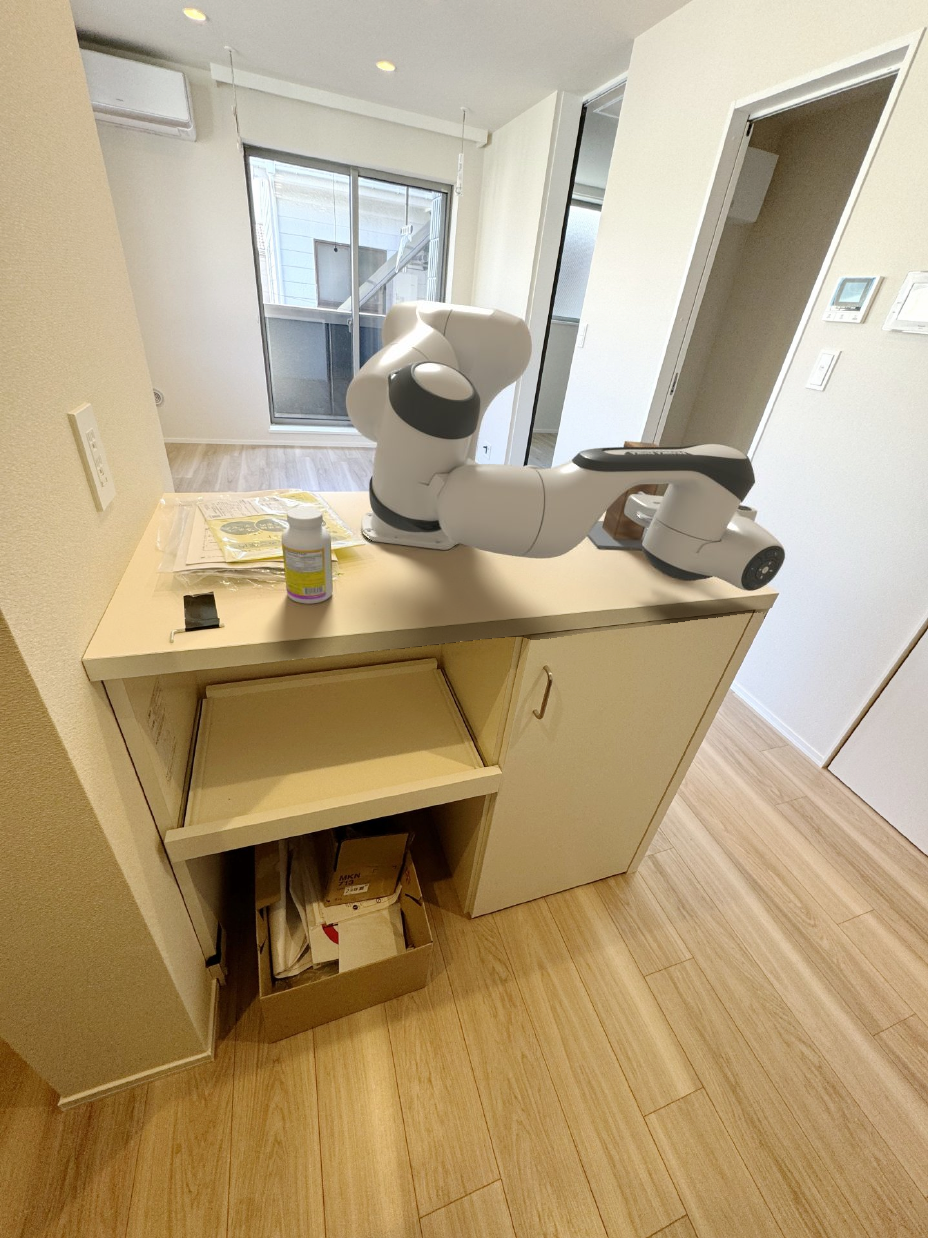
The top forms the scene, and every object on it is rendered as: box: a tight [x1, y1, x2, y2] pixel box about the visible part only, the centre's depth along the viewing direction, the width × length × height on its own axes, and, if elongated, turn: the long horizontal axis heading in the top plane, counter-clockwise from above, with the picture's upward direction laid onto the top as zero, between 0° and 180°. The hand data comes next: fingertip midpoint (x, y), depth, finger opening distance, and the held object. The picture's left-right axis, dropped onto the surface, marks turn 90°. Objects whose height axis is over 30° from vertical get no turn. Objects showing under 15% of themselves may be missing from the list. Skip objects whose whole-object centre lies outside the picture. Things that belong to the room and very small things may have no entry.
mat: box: [587, 520, 648, 551], centre depth 110 cm, size 16×14×1 cm
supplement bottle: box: [280, 506, 334, 605], centre depth 72 cm, size 7×7×13 cm
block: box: [602, 440, 661, 540], centre depth 105 cm, size 6×6×19 cm
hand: (664, 497), depth 94 cm, fingers open, 8 cm apart
